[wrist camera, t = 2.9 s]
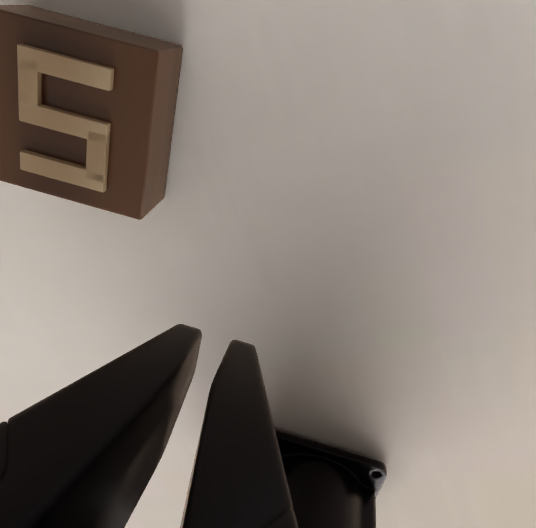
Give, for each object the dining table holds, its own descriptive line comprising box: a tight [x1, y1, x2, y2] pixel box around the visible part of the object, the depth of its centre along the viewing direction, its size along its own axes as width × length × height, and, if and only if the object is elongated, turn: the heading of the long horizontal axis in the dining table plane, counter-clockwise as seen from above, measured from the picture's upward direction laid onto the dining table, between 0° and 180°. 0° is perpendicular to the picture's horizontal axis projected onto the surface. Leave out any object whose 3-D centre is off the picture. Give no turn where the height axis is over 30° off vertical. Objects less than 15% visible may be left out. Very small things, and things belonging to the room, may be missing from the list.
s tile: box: [0, 5, 183, 220], centre depth 18 cm, size 6×6×3 cm
